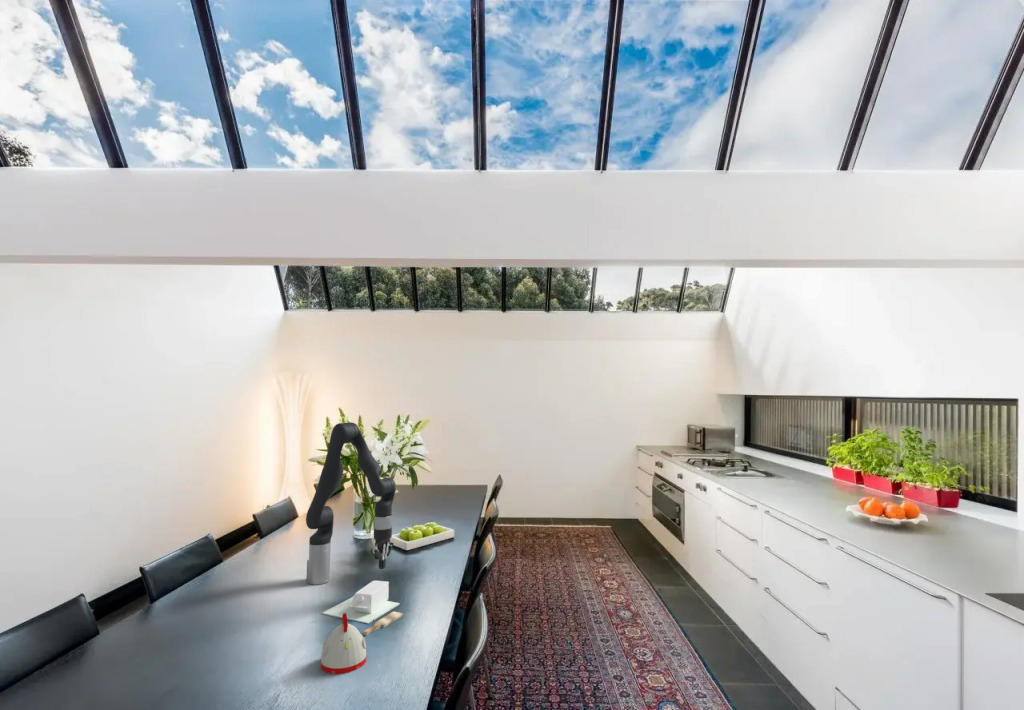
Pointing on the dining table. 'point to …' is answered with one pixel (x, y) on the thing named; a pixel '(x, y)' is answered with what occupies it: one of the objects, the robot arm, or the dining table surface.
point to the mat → (358, 616)
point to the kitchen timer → (343, 649)
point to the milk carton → (370, 597)
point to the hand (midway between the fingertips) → (382, 568)
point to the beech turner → (383, 622)
